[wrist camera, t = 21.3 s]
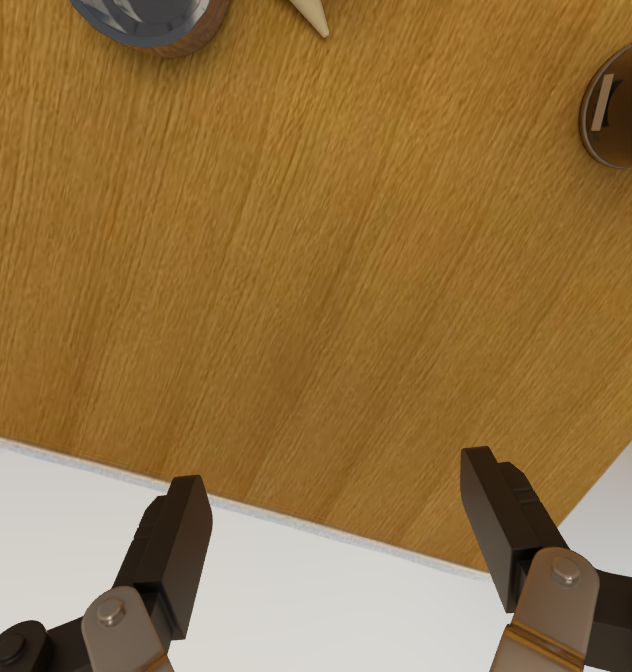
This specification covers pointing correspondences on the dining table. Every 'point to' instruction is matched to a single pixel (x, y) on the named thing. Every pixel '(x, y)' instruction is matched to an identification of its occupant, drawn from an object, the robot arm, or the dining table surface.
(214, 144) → the dining table surface
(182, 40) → the bowl
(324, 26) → the ice cream cone
